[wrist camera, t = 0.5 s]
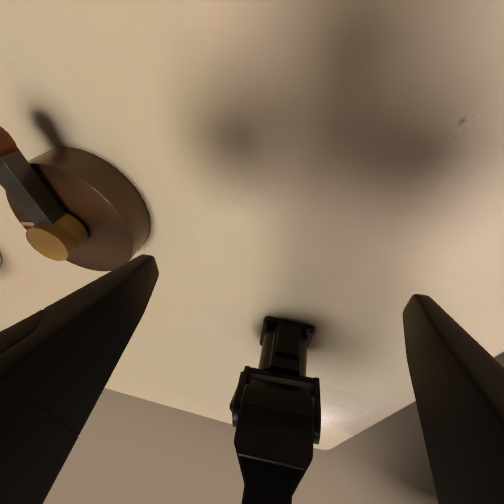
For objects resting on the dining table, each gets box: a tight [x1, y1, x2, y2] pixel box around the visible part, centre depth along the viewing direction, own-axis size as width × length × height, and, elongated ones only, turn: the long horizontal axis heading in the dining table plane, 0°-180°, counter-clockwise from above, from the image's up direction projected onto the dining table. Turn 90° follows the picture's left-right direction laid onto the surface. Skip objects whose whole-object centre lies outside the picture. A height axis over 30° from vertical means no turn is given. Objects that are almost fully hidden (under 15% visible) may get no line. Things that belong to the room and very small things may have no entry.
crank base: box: [6, 148, 150, 271], centre depth 26 cm, size 12×12×4 cm
